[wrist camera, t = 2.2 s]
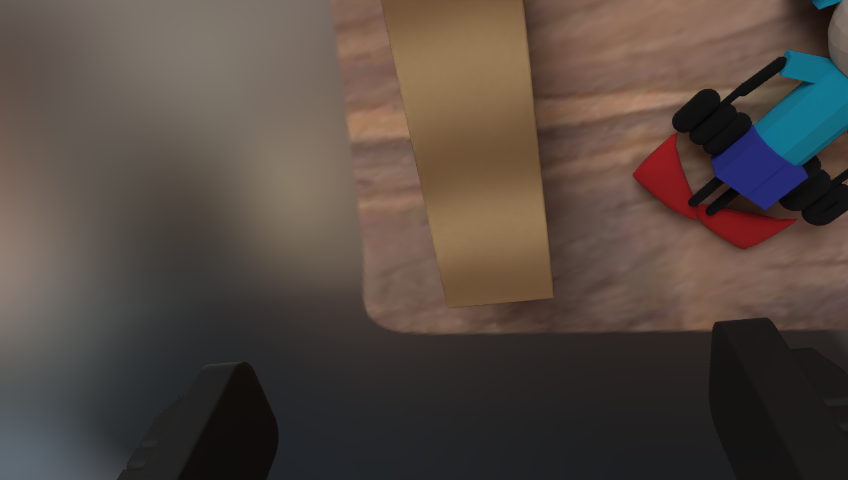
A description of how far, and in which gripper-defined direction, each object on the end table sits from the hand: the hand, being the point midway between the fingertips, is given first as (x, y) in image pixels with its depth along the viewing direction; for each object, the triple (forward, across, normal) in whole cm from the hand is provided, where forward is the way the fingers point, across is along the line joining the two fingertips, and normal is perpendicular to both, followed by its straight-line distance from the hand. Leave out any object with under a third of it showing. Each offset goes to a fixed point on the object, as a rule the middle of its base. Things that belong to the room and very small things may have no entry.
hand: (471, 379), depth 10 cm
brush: (+15, 0, 0) cm, 15 cm away
